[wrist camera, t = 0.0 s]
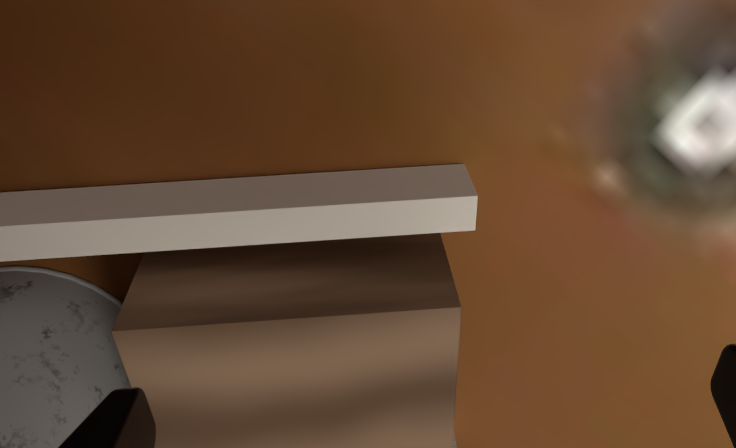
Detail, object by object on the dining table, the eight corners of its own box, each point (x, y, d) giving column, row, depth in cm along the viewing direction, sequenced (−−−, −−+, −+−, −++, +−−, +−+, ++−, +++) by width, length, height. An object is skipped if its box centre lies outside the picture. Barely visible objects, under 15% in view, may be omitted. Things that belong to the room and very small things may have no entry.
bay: (449, 433, 33) (486, 611, 26) (-227, 484, 32) (-395, 686, 25) (464, 163, 24) (528, 317, 17) (-479, 222, 23) (-869, 416, 15)
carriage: (432, 404, 31) (449, 494, 27) (198, 422, 31) (178, 515, 27) (438, 227, 25) (461, 307, 21) (146, 246, 25) (111, 331, 21)
